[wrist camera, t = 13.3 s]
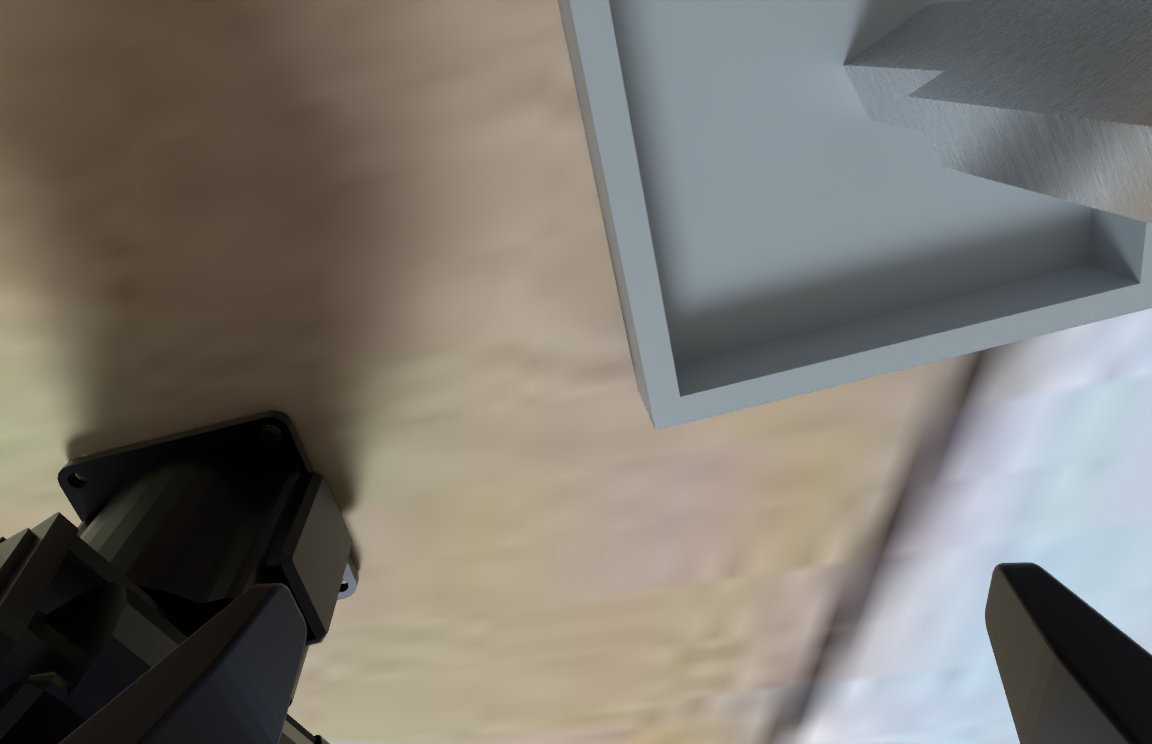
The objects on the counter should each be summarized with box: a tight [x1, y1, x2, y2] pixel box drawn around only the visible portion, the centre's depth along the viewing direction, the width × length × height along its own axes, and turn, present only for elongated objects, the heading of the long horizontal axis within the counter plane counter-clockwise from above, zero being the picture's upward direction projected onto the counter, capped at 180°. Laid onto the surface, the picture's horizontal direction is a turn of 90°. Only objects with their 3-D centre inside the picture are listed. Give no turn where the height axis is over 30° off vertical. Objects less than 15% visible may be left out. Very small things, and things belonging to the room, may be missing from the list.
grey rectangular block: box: [843, 0, 1152, 224], centre depth 14 cm, size 4×2×11 cm, turn 124°
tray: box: [558, 0, 1152, 430], centre depth 18 cm, size 14×14×2 cm
